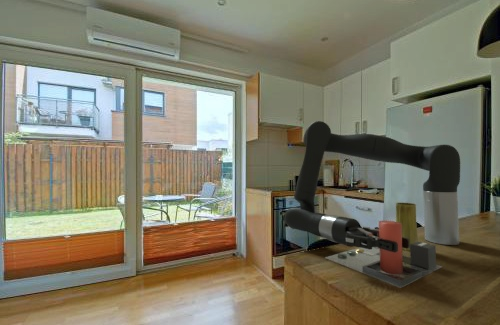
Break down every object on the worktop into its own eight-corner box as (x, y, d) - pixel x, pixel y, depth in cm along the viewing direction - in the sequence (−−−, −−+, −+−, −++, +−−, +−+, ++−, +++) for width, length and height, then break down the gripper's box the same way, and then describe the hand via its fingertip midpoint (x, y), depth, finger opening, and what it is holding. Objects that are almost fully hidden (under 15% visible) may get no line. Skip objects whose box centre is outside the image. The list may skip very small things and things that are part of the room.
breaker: (418, 260, 63) (417, 240, 63) (436, 265, 59) (435, 244, 59) (410, 263, 61) (410, 243, 61) (428, 269, 57) (428, 247, 57)
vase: (423, 253, 70) (421, 205, 70) (400, 252, 71) (398, 204, 71) (413, 247, 76) (411, 202, 76) (392, 246, 77) (391, 202, 77)
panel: (367, 247, 76) (367, 241, 76) (442, 268, 59) (442, 261, 59) (324, 259, 66) (324, 253, 66) (400, 290, 49) (400, 281, 49)
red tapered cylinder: (386, 264, 58) (385, 219, 59) (406, 271, 54) (405, 223, 55) (375, 268, 56) (374, 222, 56) (396, 276, 52) (394, 225, 52)
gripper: (321, 219, 64) (384, 233, 49) (354, 213, 71) (418, 224, 57) (322, 247, 64) (385, 269, 49) (355, 238, 71) (419, 256, 56)
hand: (402, 245), depth 53 cm, fingers closed on red tapered cylinder, 4 cm apart
